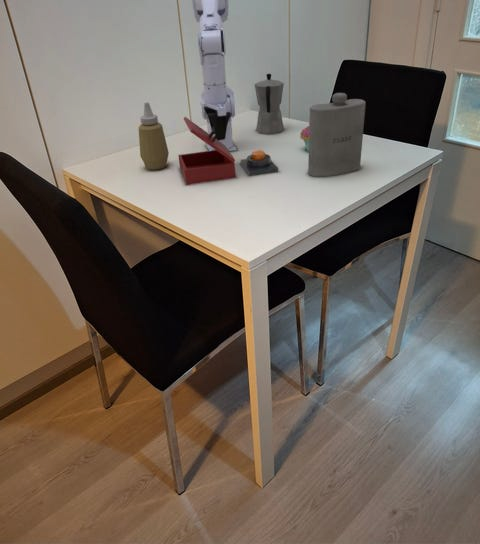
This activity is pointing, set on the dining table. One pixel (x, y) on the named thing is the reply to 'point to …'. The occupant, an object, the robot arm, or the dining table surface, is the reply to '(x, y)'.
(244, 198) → the dining table surface
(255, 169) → the switch box
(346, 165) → the flask
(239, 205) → the dining table surface
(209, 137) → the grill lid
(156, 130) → the squeeze bottle
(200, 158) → the maroon rectangular box
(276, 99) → the coffeepot
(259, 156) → the power button
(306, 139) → the cupcake
